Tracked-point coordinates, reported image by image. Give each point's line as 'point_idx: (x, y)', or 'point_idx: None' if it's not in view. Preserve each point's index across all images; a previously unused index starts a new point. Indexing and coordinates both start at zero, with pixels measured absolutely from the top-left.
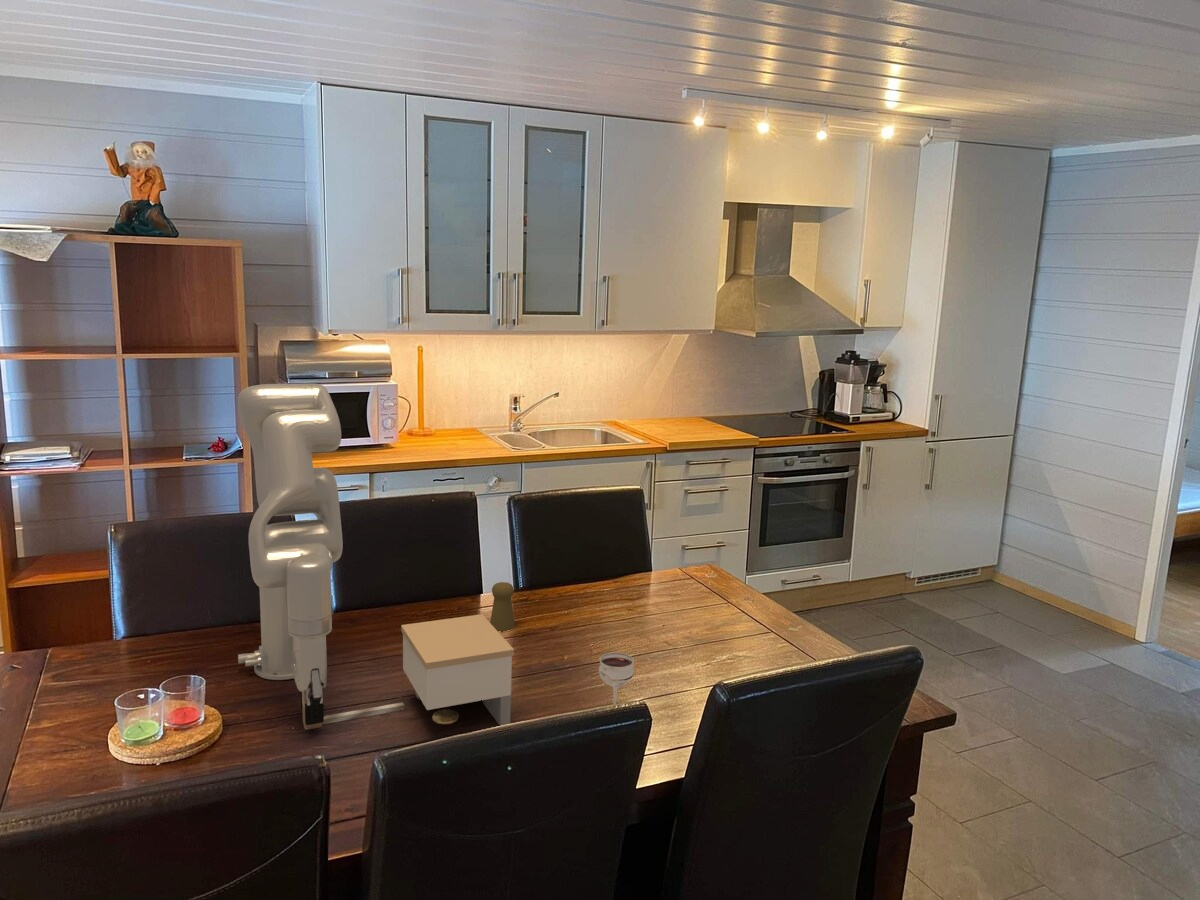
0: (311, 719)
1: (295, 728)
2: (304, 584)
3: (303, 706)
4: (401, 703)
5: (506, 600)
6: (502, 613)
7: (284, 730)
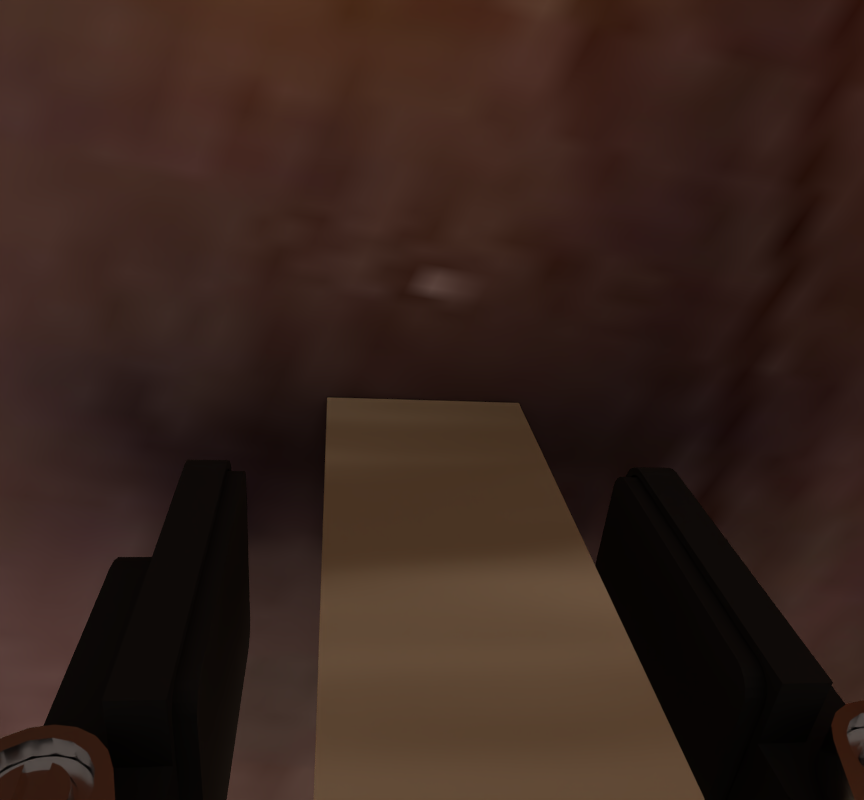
0: (108, 576)
1: (415, 305)
2: None
3: (457, 564)
4: None
5: None
6: None
7: (424, 170)
